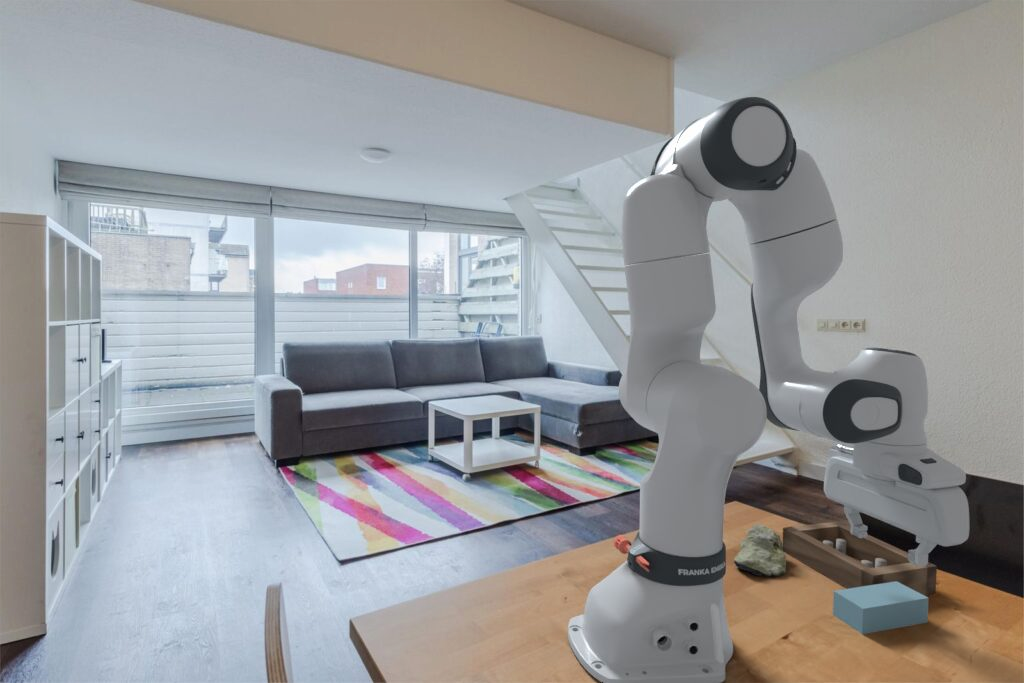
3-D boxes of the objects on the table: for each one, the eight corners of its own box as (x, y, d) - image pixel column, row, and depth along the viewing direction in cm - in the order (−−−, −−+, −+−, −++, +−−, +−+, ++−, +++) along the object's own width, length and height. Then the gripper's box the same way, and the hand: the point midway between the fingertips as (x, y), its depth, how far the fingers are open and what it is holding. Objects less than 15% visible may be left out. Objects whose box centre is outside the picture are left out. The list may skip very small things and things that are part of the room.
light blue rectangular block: (861, 636, 76) (863, 608, 75) (832, 616, 80) (833, 590, 80) (927, 624, 79) (928, 597, 78) (895, 606, 83) (896, 581, 83)
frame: (871, 603, 83) (873, 575, 83) (782, 550, 102) (783, 527, 102) (935, 592, 87) (936, 565, 86) (837, 543, 105) (838, 521, 105)
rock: (741, 584, 92) (802, 578, 91) (736, 548, 92) (796, 542, 91) (724, 557, 103) (778, 551, 101) (719, 524, 102) (773, 519, 101)
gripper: (814, 442, 87) (813, 524, 88) (942, 481, 68) (939, 586, 68) (845, 439, 89) (844, 520, 90) (979, 476, 69) (976, 579, 70)
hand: (886, 549), depth 79 cm, fingers open, 8 cm apart
